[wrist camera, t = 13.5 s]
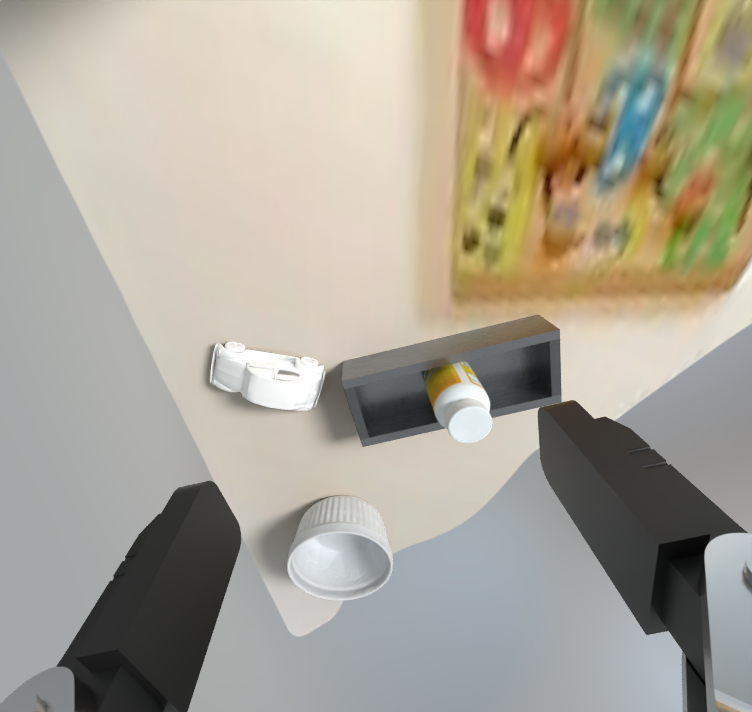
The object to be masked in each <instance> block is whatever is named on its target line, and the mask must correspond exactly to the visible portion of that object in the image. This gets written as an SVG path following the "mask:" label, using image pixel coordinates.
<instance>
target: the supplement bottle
mask: <svg viewBox="0 0 752 712" xmlns="http://www.w3.org/2000/svg"><path fill="white" fill-rule="evenodd" d="M424 383H425V387H426V390H427V393H428V396H429V399H430V402H431V404H432V407H433V410H434V413H435V416H436V418H437V420H438V422H439V423H440V424H441V425H442V426H443V427H444V428H446V429H448V432H449V434H450V435H451V437H452V438H453V439H454V440H456V441H458V442H460V443H474V442H477V441H479V440H481V439H483V438H484V437H485V436H486V435H487V434H488V433H489V431H490V430H491V427H492V417H491V415H490V413H489V411H490V400H489V397H488V395H487V393H486V391H485V390H484V388H483V387H482V385H481V383H480V382H479V380H478V379H477V377H476V375H475V374H474V372H473V370H472V369H471V367H470V366H469V364H468V363H467V362H466V361H463V362H459V363H454V364H450V365H446V366H442V367H437V368H433V369H429V370H426V371H425V374H424Z"/></svg>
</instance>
